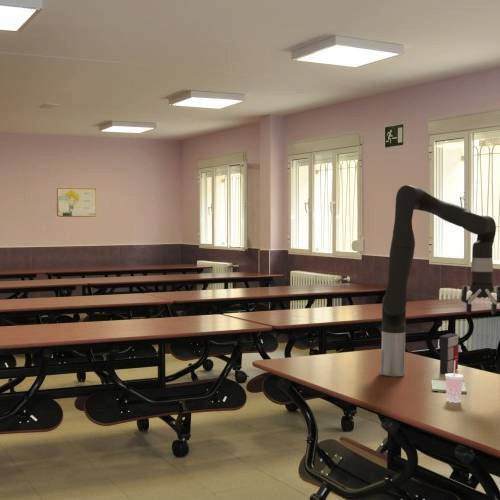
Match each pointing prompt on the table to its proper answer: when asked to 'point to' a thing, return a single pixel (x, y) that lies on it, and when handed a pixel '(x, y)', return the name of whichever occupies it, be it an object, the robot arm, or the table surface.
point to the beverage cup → (453, 386)
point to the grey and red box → (448, 353)
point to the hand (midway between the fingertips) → (481, 314)
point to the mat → (444, 385)
